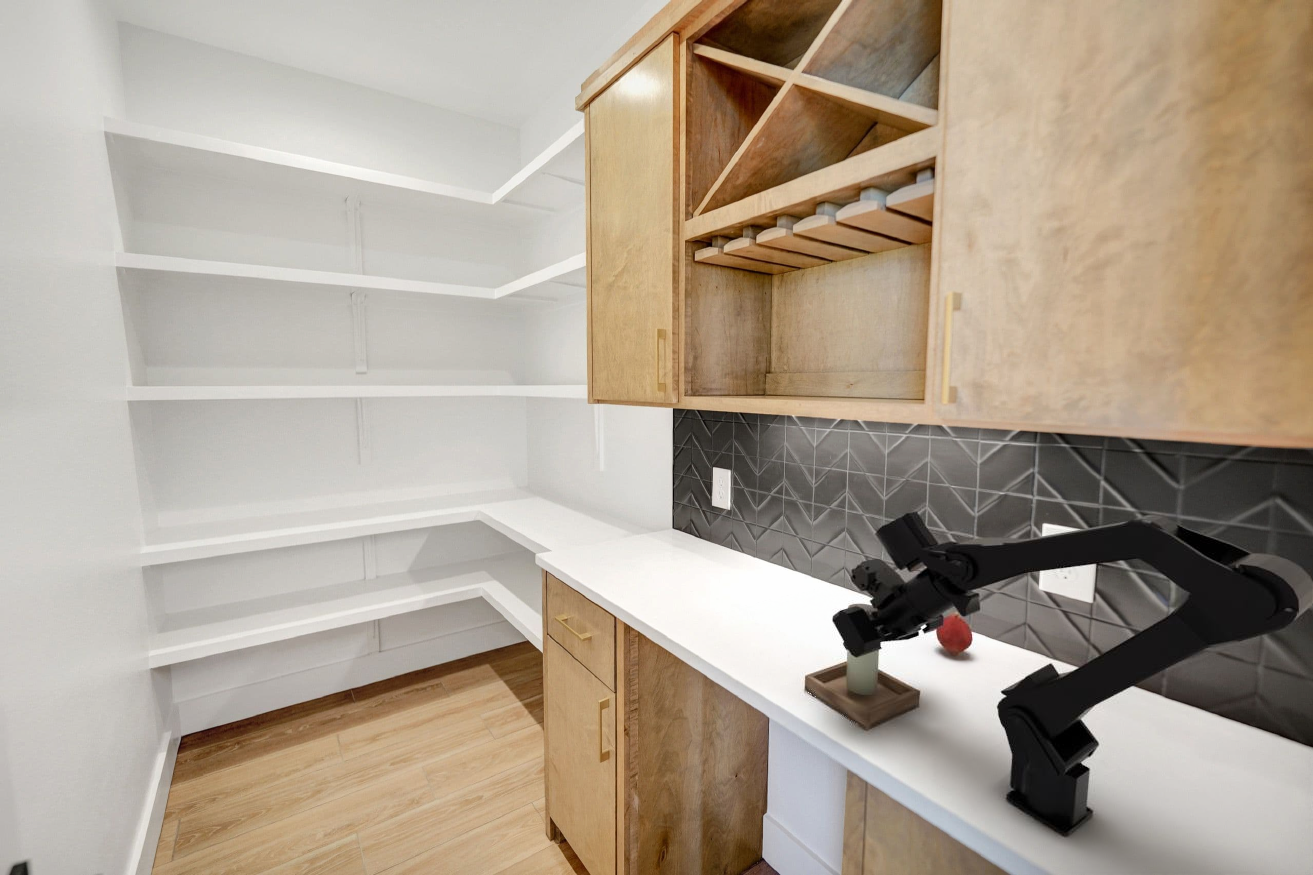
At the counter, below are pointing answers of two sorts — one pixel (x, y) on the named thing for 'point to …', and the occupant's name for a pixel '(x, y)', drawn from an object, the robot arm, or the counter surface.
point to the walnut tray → (862, 696)
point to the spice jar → (863, 666)
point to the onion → (954, 634)
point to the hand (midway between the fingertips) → (855, 643)
